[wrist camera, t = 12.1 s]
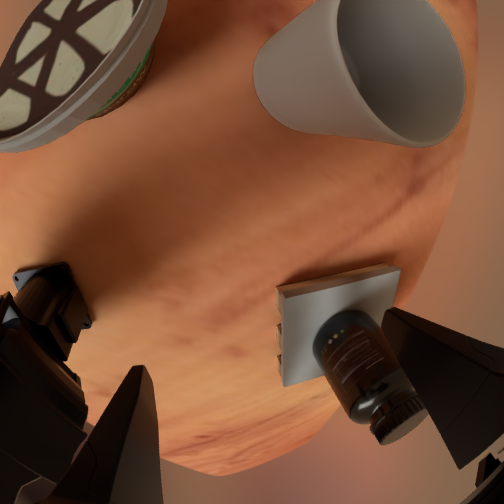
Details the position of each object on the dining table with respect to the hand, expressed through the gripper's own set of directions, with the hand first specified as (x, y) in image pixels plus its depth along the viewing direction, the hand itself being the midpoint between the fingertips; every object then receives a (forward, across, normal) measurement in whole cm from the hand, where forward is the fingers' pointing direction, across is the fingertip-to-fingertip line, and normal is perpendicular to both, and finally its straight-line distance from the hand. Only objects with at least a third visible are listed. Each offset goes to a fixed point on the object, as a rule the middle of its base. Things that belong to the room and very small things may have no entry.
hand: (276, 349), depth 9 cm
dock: (+13, -10, +12) cm, 20 cm away
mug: (+13, -8, -12) cm, 20 cm away
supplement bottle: (+11, -10, +12) cm, 19 cm away
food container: (+13, +6, -12) cm, 19 cm away
